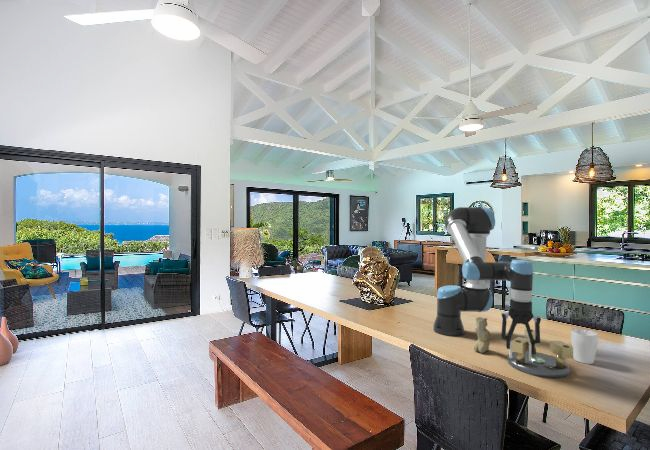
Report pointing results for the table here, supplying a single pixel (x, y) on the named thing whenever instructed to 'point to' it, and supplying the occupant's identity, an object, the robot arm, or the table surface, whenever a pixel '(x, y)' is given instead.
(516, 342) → the knob left
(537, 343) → the beige blocky piece
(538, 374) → the plate
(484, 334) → the sculpture
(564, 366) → the knob right
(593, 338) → the cup
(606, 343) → the table surface
